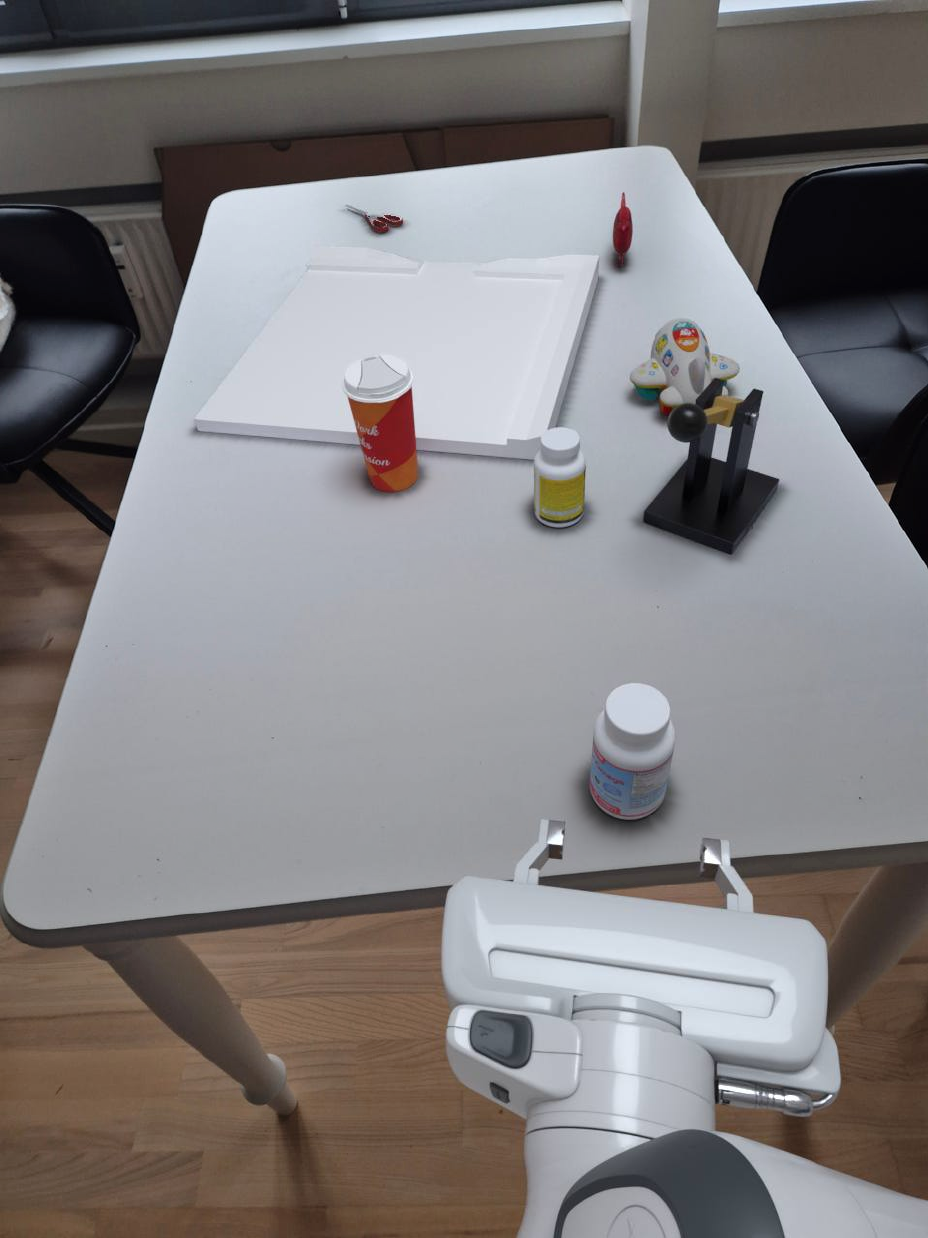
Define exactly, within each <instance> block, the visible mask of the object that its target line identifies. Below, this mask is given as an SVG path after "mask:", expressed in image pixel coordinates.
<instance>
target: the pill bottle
mask: <svg viewBox="0 0 928 1238" xmlns="http://www.w3.org/2000/svg"><path fill="white" fill-rule="evenodd" d="M592 734H593V736H592V748H591V758H590V759H591V760H590V772H589V789H590V794H591V796H592V798H593V801H594V802H595V803H596V805H597V806H598V807H599V809H601V810H602V811H603V812H605V813H606V814H608V815H609V816H612V817H614V818H615V819H616V818H617V819H621V820H628V821H630V820H638V819H642V818H644V817H647V816H649V815H650V814H652V813H653V812H655V811H656V810H657V809H658V808H659V807H660V806H661V804H662V803H663V801H664V799H665V796H666V793H667V787H668V782H669V776H670V772H671V766H672V762H673V756H674V751H675V745H676V739H677V736H676V730H675V726H674V723H673V721H672V720H671V708H670V704H669V701H668V699H667V697H665V695H664V694H663V693H662V692H661V691H660V690H658V688H655V687H654V686H651V685H649V684H646V683H640V682H629V683H625V684H622V685H619V686H616V688H615V689H613V690H611V692H610V693H609V695H608V696H607V699H606V702H605V707H604V709H603V710H602V711H601V712H600V713H599V715H598V716H597V717H596V720H595V723H594V725H593V733H592Z"/></svg>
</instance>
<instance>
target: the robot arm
mask: <svg viewBox="0 0 928 1238" xmlns="http://www.w3.org/2000/svg"><path fill="white" fill-rule="evenodd" d="M565 835H566V821H565V820H564V821H563V820H556V819H555V820H554V819H546V818H540V822H539V830H538V838H537V842H534V844H532V846H531V847H530V848H529V850H527V852H526V853H525V854H524V855H523V856H522V858H521V859H520V860H519V861H518V862H517V863H516V864H515V867H514V874H513V880H511V881H510V880H503V879H496V878H487V877H480V876H474V875H473V876H472V875H465V876H463V877H460V879H458V880H457V881H456V882H455V883H454V884H452V886H451V887H450V888H448V890H447V893H446V897H445V904H444V911H443V918H442V926H441V928H442V929H441V945H440V969H441V971H440V972H441V978H442V982H443V989H444V994H445V997H446V1000H447V1005H448V1008H449V1011H450V1013H449V1017H448V1020H447V1024H446V1030H445V1035H444V1047H445V1055H446V1058H447V1062H448V1064H449V1066H450V1069H451V1070H452V1072H453V1074H454V1076H455V1077H456V1079H457V1081H458V1082H460V1084H462V1085H463V1086H464V1087H467V1088H468V1089H470V1090H471V1091H474V1092H475V1093H477V1094H479V1095H481V1096H483V1097H485V1098H487V1099H489V1100H490V1101H492V1102H494V1103H496V1104H497V1105H499V1106H501V1107H503V1108H505V1109H507V1110H508V1111H510V1112H512V1113H514V1114H516V1115H517V1116H519V1117H520V1118H522V1119H525V1129H524V1139H523V1159H524V1166H525V1173H526V1198H525V1200H526V1201H525V1206H524V1212H523V1217H522V1220H521V1224H520V1227H519V1228H518V1232H517V1234H516V1237H515V1238H928V1200H927V1199H923V1198H918V1197H915V1196H911V1195H907V1194H904V1193H902V1192H899V1191H895V1190H893V1189H889V1188H887V1187H884V1186H881V1185H879V1184H875V1183H872V1182H870V1181H867V1180H864V1179H862V1178H858V1177H856V1176H852V1175H850V1174H847V1173H844V1172H841V1171H838V1170H835V1169H832V1168H830V1167H827V1166H824V1165H821V1164H819V1163H816V1162H815V1161H813V1160H810V1159H808V1158H805V1157H802V1156H799V1155H796V1154H794V1153H791V1152H788V1151H785V1150H783V1149H780V1148H778V1147H774V1146H771V1145H769V1144H765V1143H762V1142H760V1141H755V1140H753V1139H749V1138H748V1137H743V1136H740V1135H736V1134H734V1133H733V1134H732V1133H728V1132H724V1131H718V1130H717V1129H716V1128H717V1126H716V1125H717V1124H716V1122H717V1121H716V1120H717V1119H716V1104H717V1105H722V1106H731V1107H737V1108H743V1109H750V1110H751V1109H752V1110H760V1109H761V1110H769V1111H775V1112H781V1113H782V1114H783V1115H786V1116H791V1117H796V1118H797V1117H798V1118H799V1117H800V1118H802V1117H803V1118H805V1117H806V1118H807V1117H811V1116H812V1115H813V1111H816V1110H822V1109H825V1108H827V1107H829V1106H830V1105H831V1104H833V1102H834V1101H836V1099H837V1097H838V1095H839V1093H840V1091H841V1088H842V1087H841V1086H842V1073H841V1072H842V1071H841V1066H840V1065H841V1064H840V1056H839V1050H838V1046H837V1043H836V1040H835V1038H834V1037H833V1035H832V1034H831V1033H832V1032H830V1031H829V1029H828V1028H827V1027H826V1025H827V1015H828V1000H829V997H828V996H829V961H828V958H829V957H828V946H827V941H826V939H825V938H824V935H822V934H821V933H820V931H819V930H818V929H817V928H816V926H815V925H814V924H813V923H812V922H811V921H810V920H808V919H803V918H797V917H790V916H781V915H774V914H767V913H759V912H754V897H753V894H752V892H751V891H750V890H749V888H748V886H747V885H746V883H745V882H744V881H743V879H742V878H741V876H740V874H739V873H738V872H737V870H736V869H735V867H734V866H733V865H732V864H731V844H730V839H729V840H728V839H720V838H711V837H709V838H708V837H702V839H701V844H700V848H699V861H700V865H699V876H700V878H706V879H713V880H714V881H715V883H716V885H717V887H718V889H719V890H720V892H721V894H722V895H723V897H724V902H723V904H722V907H721V908H720V907H712V906H704V905H696V904H690V903H680V902H673V901H665V900H659V899H658V900H657V899H650V898H643V897H635V896H626V895H620V894H619V895H618V894H613V893H612V894H610V893H603V892H597V891H596V892H595V891H590V890H589V891H587V890H581V889H574V888H565V887H558V886H557V887H556V886H548V885H543V884H540V871H541V870H542V868H544V866H545V865H546V864H547V862H548V861H549V859H551V860H552V859H554V860H563V856H564V844H565V837H566V836H565ZM812 1096H819V1097H820V1098H817V1099H813V1097H812Z"/></svg>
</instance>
